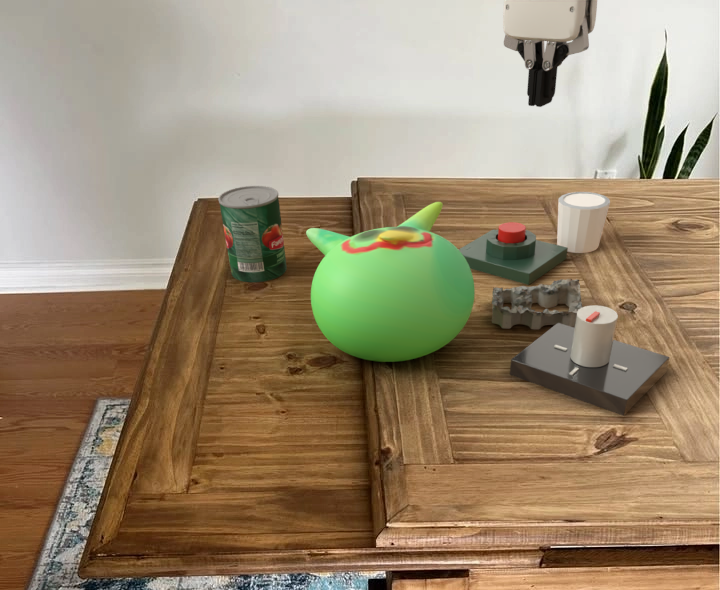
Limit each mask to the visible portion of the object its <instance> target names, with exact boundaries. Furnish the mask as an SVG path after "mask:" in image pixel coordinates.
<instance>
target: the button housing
mask: <svg viewBox="0 0 720 590" xmlns="http://www.w3.org/2000/svg"><path fill="white" fill-rule="evenodd" d="M457 249H458V250H459V251H460V252H461V253H462V255H463V256H464V257H465V259H466V261H467V263H468V265H469V267H470V269H471V270H474V271H478V272H482V273H485V274H489V275H491V276H495V277H500V278H503V279H506V280H510V281H514V282H516V283H520V284H524V285H528V286H529V285H531V284H532V283H534V282H535V281H536V280H538V279H539V278H541V277H542V276H544V275H545V274H547V273H548V272H550V271H551V270H552V269H554V268H556V267H557V266H558V265H560V264H561V263H562V262H564V261H565V260H567V257H568V252H567V250H568V248H567V247H563V246H559V245H557V244H554V243H551V242H547V241H544V240H543V241H542V240H538V239H537V235H536V234H535V233H533V232H532V231H530V230H529V229H526V233H525V241H523V242H519V243H504V242H500V241H498V229H492V230H489V231H487V232H486V233H484V234H482V235H481V236H479V237H477V238H476V239H474V240H472V241H470V242H469V243H466V244H465V245H464V246H462V247H460V248H457Z"/></svg>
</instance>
